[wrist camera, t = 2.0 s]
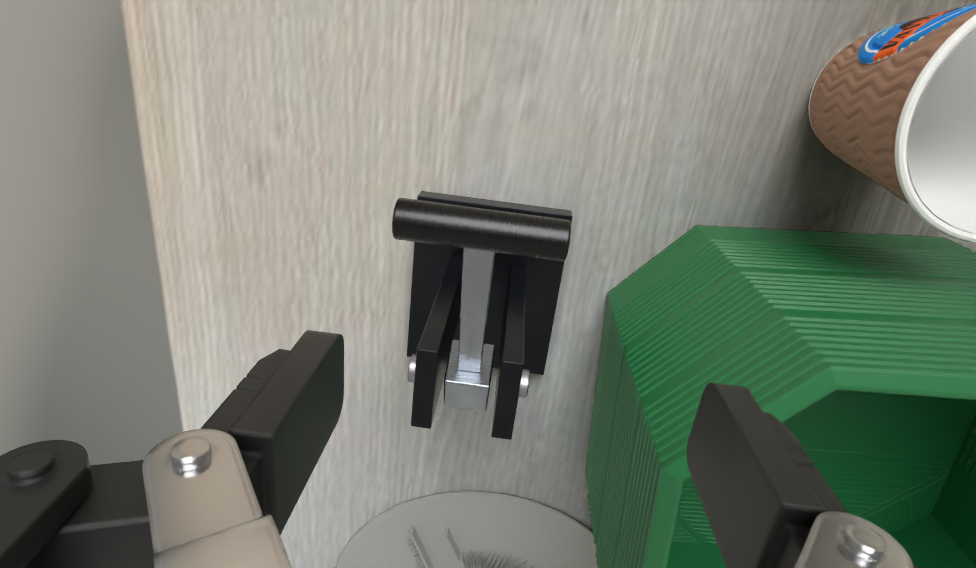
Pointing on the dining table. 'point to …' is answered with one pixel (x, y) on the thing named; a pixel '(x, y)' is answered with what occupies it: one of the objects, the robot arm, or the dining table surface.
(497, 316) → the black upright frame
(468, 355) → the lever
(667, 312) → the planter
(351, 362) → the dining table surface
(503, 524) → the plate
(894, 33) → the coffee cup
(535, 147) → the dining table surface
